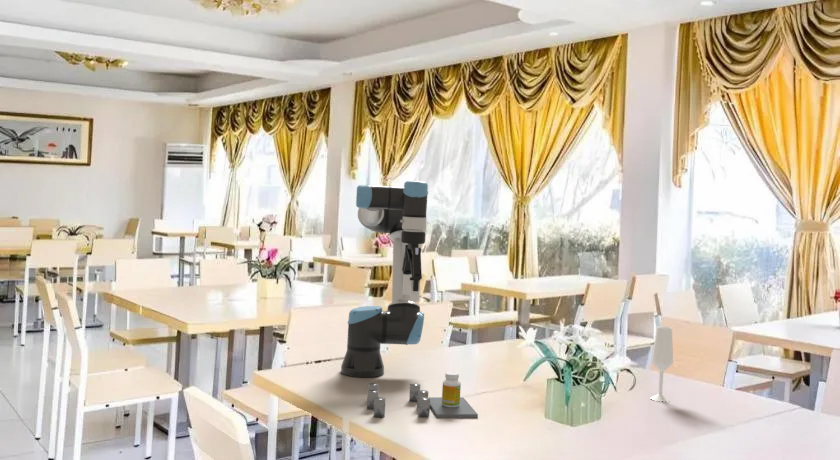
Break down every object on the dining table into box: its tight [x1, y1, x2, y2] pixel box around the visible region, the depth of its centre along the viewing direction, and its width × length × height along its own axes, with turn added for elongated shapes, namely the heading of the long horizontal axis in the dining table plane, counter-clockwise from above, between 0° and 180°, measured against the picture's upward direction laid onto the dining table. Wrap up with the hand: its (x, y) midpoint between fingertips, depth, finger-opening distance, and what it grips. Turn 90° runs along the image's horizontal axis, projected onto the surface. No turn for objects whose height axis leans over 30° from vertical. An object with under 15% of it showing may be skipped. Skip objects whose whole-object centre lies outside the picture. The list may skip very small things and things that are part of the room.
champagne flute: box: [649, 325, 674, 402], centre depth 247 cm, size 7×7×24 cm
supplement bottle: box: [441, 371, 462, 407], centre depth 225 cm, size 5×5×10 cm
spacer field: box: [366, 382, 431, 419], centre depth 223 cm, size 19×18×5 cm
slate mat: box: [428, 396, 479, 419], centre depth 225 cm, size 18×12×1 cm, turn 10°
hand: (410, 298), depth 236 cm, fingers open, 13 cm apart
